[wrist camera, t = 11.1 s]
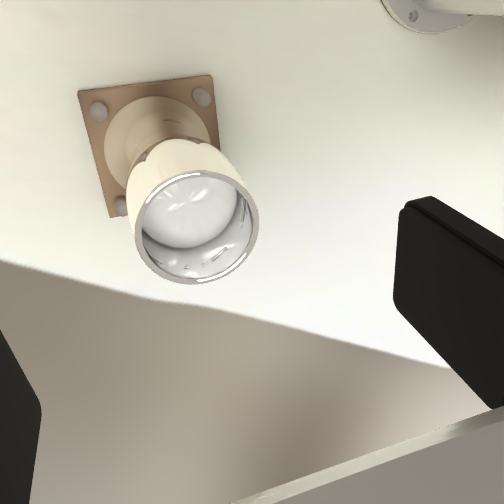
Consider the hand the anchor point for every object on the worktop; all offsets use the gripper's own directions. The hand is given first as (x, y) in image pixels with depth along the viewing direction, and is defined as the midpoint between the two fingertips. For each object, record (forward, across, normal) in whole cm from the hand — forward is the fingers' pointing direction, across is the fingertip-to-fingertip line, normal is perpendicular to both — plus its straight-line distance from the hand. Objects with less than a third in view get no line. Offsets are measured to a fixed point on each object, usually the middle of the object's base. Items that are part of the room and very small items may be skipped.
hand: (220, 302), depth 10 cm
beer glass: (+27, -1, +5) cm, 28 cm away
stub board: (+29, 0, +5) cm, 29 cm away
